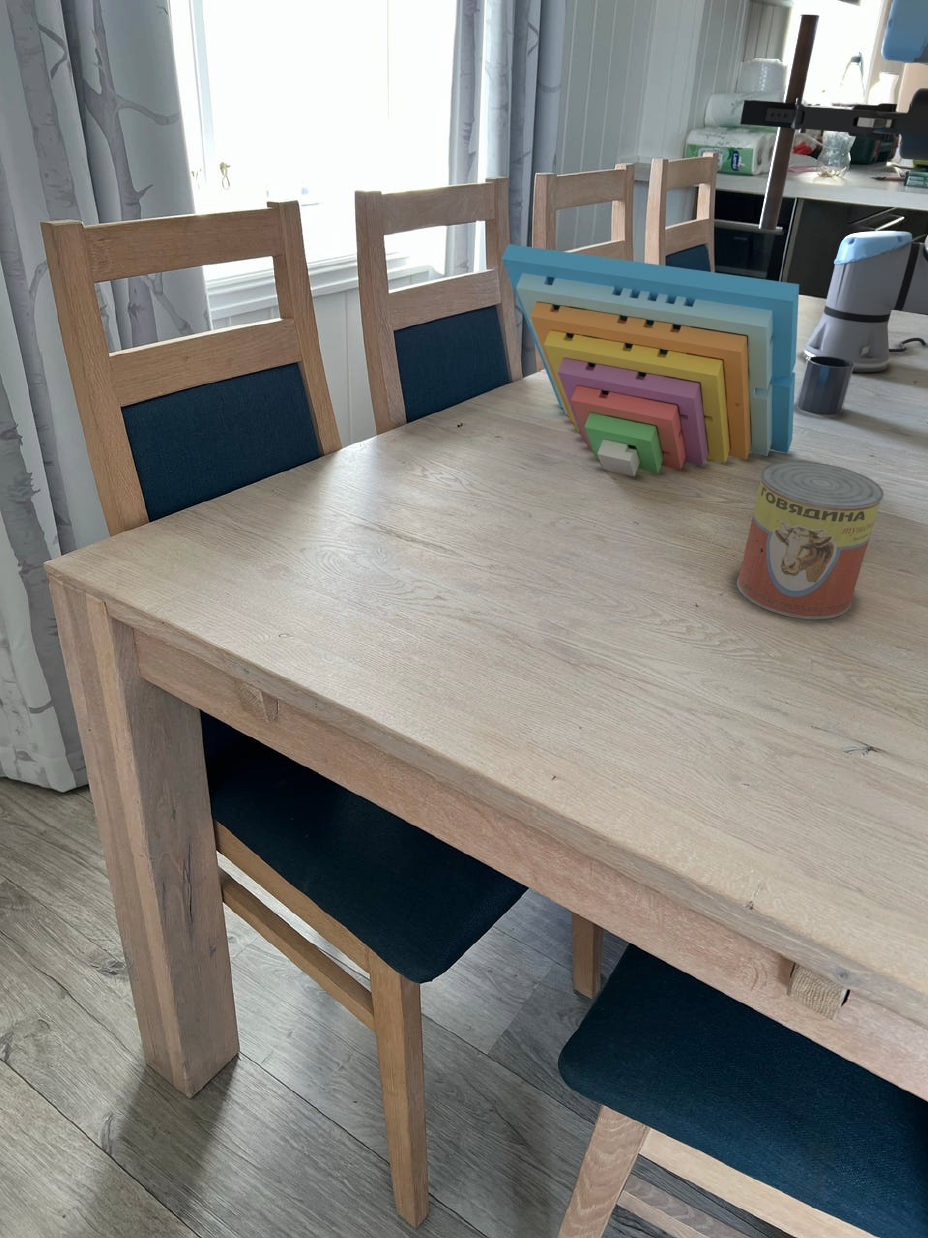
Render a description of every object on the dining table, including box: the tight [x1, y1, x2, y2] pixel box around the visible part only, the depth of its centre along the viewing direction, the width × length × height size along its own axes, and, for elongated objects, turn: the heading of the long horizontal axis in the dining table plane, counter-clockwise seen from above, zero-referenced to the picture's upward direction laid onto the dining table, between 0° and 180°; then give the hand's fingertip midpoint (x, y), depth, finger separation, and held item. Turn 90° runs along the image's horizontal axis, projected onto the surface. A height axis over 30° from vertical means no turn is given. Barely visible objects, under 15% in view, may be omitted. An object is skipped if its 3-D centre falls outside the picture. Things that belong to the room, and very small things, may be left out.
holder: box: [795, 356, 854, 416], centre depth 149 cm, size 7×7×8 cm
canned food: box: [736, 460, 885, 621], centre depth 93 cm, size 11×11×12 cm
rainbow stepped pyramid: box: [501, 243, 800, 478], centre depth 123 cm, size 35×18×35 cm
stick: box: [758, 13, 820, 231], centre depth 119 cm, size 2×2×24 cm
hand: (746, 111), depth 120 cm, fingers closed on stick, 2 cm apart
